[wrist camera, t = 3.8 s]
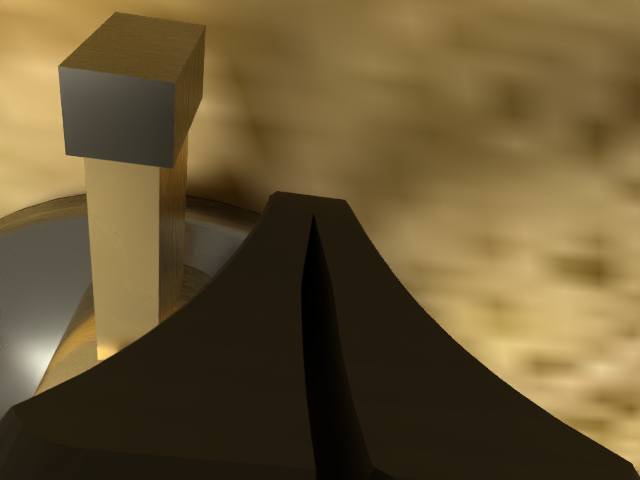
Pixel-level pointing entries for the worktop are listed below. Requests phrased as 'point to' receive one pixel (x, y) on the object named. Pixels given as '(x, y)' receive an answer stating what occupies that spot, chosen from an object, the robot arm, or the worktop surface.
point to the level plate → (77, 276)
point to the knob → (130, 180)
